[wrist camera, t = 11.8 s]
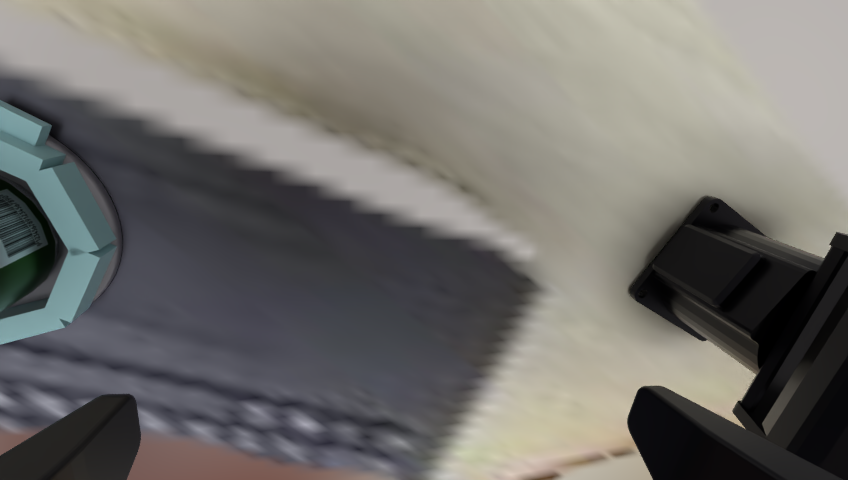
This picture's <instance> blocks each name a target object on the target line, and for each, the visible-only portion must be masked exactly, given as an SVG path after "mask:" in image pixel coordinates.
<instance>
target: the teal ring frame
mask: <svg viewBox="0 0 848 480" xmlns="http://www.w3.org/2000/svg"><path fill="white" fill-rule="evenodd" d="M51 127H52V125H50V124H48V123H46V122H44V121H42V120H40V119H38V118H36V117H34V116H32V115H30V114H28V113H26V112H24V111H22V110H20V109H18V108H16V107H13V106H11V105H9V104H7V103H5V102H3V101H1V100H0V175H1V176H3V177H5V178H7V179H9V180H12V181H14V182H16V183H18V184H20V185H22V186H23V187H24V188H25V189H27V190H28V191H29V192H30V193H32V194H33V195H34V196H36V198H37V200H38V201H39V203H40V205H41V206H42V208H43V210H44V211H45V213H46V215H47V216H48V218H49V219H50V221H51V223H52V224H53V226H54V228H55V229H56V231H57V233H58V234H59V253H58V256H57V259H56V261H55V263H54V266H53V268H52V270H51V272H50V274H49V276H48V278H47V280H45V281H44V282H43V283H42V284H41V285H40V286H38V287H37V288H36V289H35V290H34V291H33V292H31V293H30V294H28V295H26V296H25V297H23V298H22V299H20V300H19V301H17V302H15V303H14V304H12V305H11V306H9V307H8V308H6V309H4V310H3V311H1V312H0V344H4V343H8V342H12V341H15V340H19V339H23V338H27V337H31V336H34V335H38V334H42V333H46V332H50V331H54V330H57V329H61V328H65V327H66V326H67V325H69V324H70V323H72V322H73V321H74V320H75V319H76V318H78V317H79V316H80V315H81V314H82V313H84V312H85V311H86V310H87V309H88V308H90V305H91V303H92V302H93V301H95V300H96V299H97V298H98V297H99V296H100V295H101V294H102V293H103V292H104V291H105V290H106V288H107V287H108V286H109V285H110V283H111V282H112V280H113V278H114V276H115V275H116V272H117V270H118V267H119V264H120V260H121V254H122V232H121V225H120V221H119V218H118V215H117V211H116V209H115V207H114V204H113V202H112V200H111V198H110V196H109V194H108V193H107V191H106V189H105V188H104V186H103V185H102V183H101V182H100V180H99V179H98V178H97V177H96V175H95V174H94V173H93V172H92V170H91V169H90V168H89V167H88V166H87V165H86V164H85V163H84V162H83V161H82V160H81V159H80V158H79V157H78V156H77V155H76V154H74V153H73V152H72V151H71V150H70V149H68V148H67V147H66V146H65V145H63V144H62V143H60V142H59V141H57V140H56V139H54V138H53V137H51V136H50V135H49V132H50V130H51Z"/></svg>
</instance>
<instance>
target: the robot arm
mask: <svg viewBox="0 0 848 480" xmlns="http://www.w3.org/2000/svg"><path fill="white" fill-rule="evenodd" d="M711 205H712V207H711V209H710V206H711ZM829 245H831V246H832V247H831V248H830V250H829V252H828V253H827V255H826V257H825V258H822V257H819V256H816V255H814V254H811V253H808V252H806V251H803V250H800V249H797V248H795V247H792V246H789V245H786V244H784V243H781V242H778V241H775V240H773V239H770V238H767V237H766V236H765V235H764V234H763V233H761V232H760V231H759V230H758V229H756V228H755V227H754V226H753V225H751V224H750V223H749V222H748V221H747V220H745V219H744V218H743V217H742V216H740V215H739V214H738V213H737V212H736V211H734V210H733V209H732V208H731V207H729V206H728V205H727V204H726V203H724V202H723V201H722V200H721V199H718V198H715V197H712V196H711V197H707V198H705V199H704V200H702V201H701V203H700V204H699V205H698V206H697V208H696V209H695V210H694V211H693V212H692V214H691V215H690V216H689V217H688V219H687V220H686V221H685V222H684V224H683V225H682V226H681V227H680V228H679V230H678V231H677V232H676V233H675V235H674V236H673V237H672V238H671V239H670V241H669V242H668V243H667V244H666V246H665V247H664V248H663V249H662V250H661V252H660V253H659V254H658V255H657V257H656V258H655V259H654V260H653V262H652V263H651V264H650V265H649V266H648V268H647V269H646V270H645V271H644V273H643V274H642V275H641V276H640V277H639V279H638V280H637V281H636V282H635V284H634V285H633V286H632V288H631V289H630V296H631V297H632V298H633V299H635V300H636V301H637V302H639V303H641V304H642V305H644V306H645V307H647V308H649V309H650V310H652V311H654V312H655V313H657V314H658V315H660V316H662V317H663V318H665V319H667V320H668V321H670V322H671V323H673V324H675V325H676V326H678V327H680V328H681V329H683V330H684V331H686V332H688V333H689V334H691V335H693V336H694V337H696V338H697V339H699V340H701V341H706V340H709V341H710V342H712V343H713V344H714V345H716V346H717V347H719V348H720V349H721V350H723V351H724V352H726V353H727V354H728V355H730V356H731V357H733V358H734V359H735V360H737V361H738V362H740V363H741V364H742V365H744V366H745V367H746V368H748V369H749V370H751V371H752V372H753V373H755V374H756V376H755V378H754V380H753V381H752V383H751V385H750V386H749V388H748V390H747V392H746V393H745V395H744V397H743V398H742V400H741V401H738V402H737V403H736V405H735V407H734V409H733V410H732V412H733V413H734V415H735V416H736V417H737V418H738V420H739V421H740V422H741V423H742V425H743V426H744V427H745V428H746V429H744V428H742V427H740V426H738V425H737V424H735V423H733V422H731V421H729V420H727V419H725V418H723V417H721V416H719V415H717V414H715V413H713V412H711V411H710V410H708V409H706V408H704V407H702V406H700V405H698V404H696V403H694V402H692V401H690V400H688V399H686V398H684V397H682V396H681V395H679V394H677V393H675V392H673V391H671V390H669V389H667V388H665V387H662V386H643V387H641V388H640V389H639V390H638V391H637V394H636V396H635V399H634V402H633V404H632V407H631V410H630V412H629V415H628V419H627V424H628V429H629V432H630V434H631V436H632V438H633V440H634V442H635V444H636V446H637V448H638V450H639V452H640V454H641V456H642V458H643V460H644V462H645V464H646V466H647V468H648V470H649V472H650V474H651V476H652V478H653V480H848V234H844V233H839V232H836V234H835V236H834V237H833V239H832V241H831V242H830V244H829ZM640 291H642V292H641V293H640ZM639 293H640V294H639ZM140 440H141V432H140V425H139V418H138V411H137V404H136V400H135V398H134V396H132V395H130V394H106V395H101V396H99V397H97V398H95V399H94V400H92V401H90V402H89V403H87V404H85V405H84V406H82V407H80V408H79V409H77V410H75V411H74V412H72V413H70V414H69V415H67V416H65V417H64V418H62V419H60V420H59V421H57V422H55V423H54V424H52V425H50V426H49V427H47V428H45V429H44V430H42V431H40V432H39V433H37V434H35V435H34V436H32V437H31V438H29V439H27V440H26V441H24V442H22V443H21V444H19V445H17V446H16V447H14V448H12V449H11V450H9V451H7V452H6V453H4V454H2V455H1V456H0V480H127V477H128V475H129V472H130V470H131V467H132V465H133V462H134V460H135V457H136V455H137V452H138V449H139V446H140Z"/></svg>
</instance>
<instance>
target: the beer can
mask: <svg viewBox="0 0 848 480" xmlns="http://www.w3.org/2000/svg"><path fill="white" fill-rule="evenodd" d="M58 253H59V234H58V233H57V231H56V229H55V228H54V226H53V224H52V223H51V221H50V219H49V218H48V216H47V215H46V213H45V211H44V210H43V208H42V206H41V205H40V203H39V201H38V200H37V198H36V196H34V195H33V194H32V193H30V192H29V191H28V190H27V189H25V188H24V187H23V186H22V185H20V184H18V183H16V182H14V181H12V180H9V179H7V178H5V177H3V176H1V175H0V312H1V311H3V310H4V309H6V308H8V307H9V306H11V305H12V304H14V303H15V302H17V301H19V300H20V299H22V298H23V297H25V296H26V295H28V294H30V293H31V292H33V291H34V290H35V289H36V288H37V287H38V286H40V285H41V284H42V283H43V282H44V281H45V280H47V278H48V276H49V274H50V272H51V270H52V268H53V266H54V263H55V261H56V259H57V256H58Z"/></svg>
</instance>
